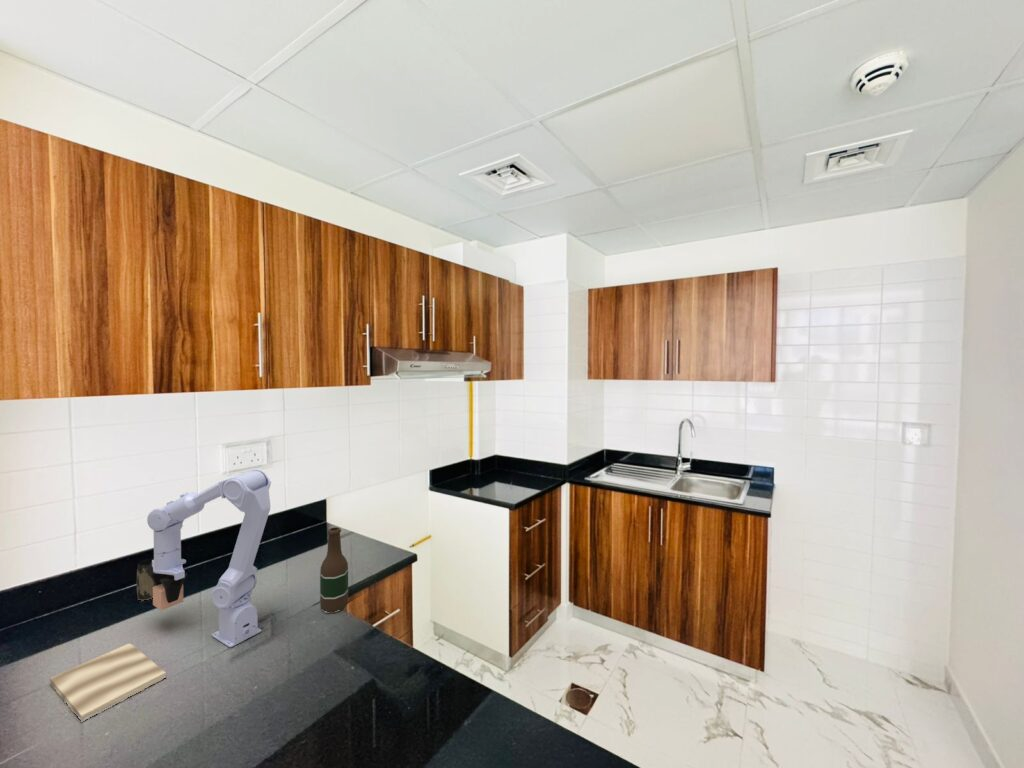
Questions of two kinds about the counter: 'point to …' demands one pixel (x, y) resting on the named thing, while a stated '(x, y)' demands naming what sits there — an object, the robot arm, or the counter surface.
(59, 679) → the birch board
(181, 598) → the terracotta cube
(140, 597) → the mug
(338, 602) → the beer bottle
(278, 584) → the counter surface
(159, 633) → the counter surface
